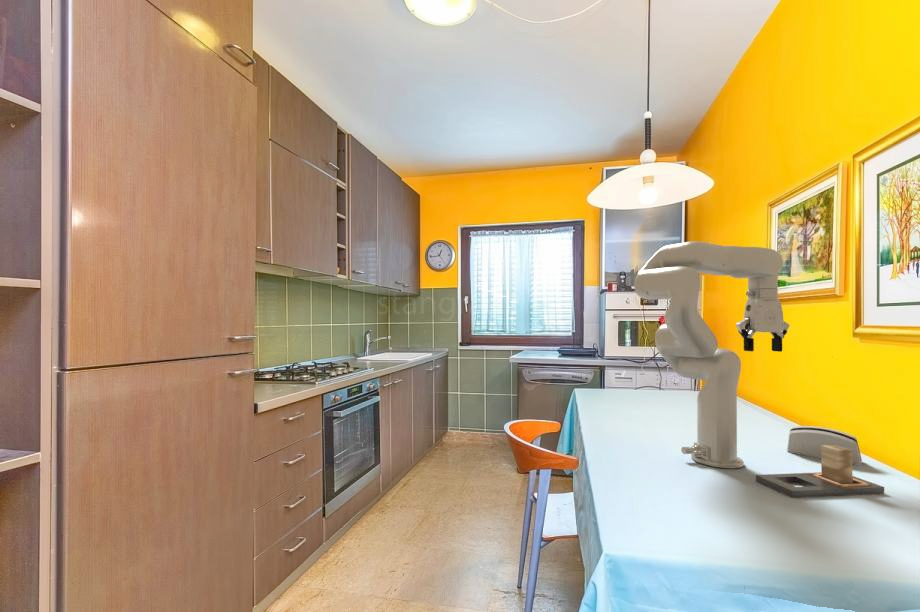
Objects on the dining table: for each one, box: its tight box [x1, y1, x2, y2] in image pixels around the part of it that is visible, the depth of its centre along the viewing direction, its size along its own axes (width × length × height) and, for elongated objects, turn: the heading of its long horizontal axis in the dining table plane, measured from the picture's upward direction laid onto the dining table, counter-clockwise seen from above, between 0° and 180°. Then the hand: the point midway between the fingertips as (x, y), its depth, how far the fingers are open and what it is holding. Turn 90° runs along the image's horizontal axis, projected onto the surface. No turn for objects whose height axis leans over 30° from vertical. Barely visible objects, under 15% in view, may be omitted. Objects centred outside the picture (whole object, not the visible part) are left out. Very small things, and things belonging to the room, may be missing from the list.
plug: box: [820, 445, 853, 484], centre depth 105 cm, size 4×4×9 cm
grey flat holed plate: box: [755, 471, 885, 499], centre depth 103 cm, size 24×10×2 cm, turn 98°
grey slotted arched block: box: [786, 425, 863, 466], centre depth 126 cm, size 17×5×10 cm, turn 45°
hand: (762, 351), depth 133 cm, fingers open, 9 cm apart
